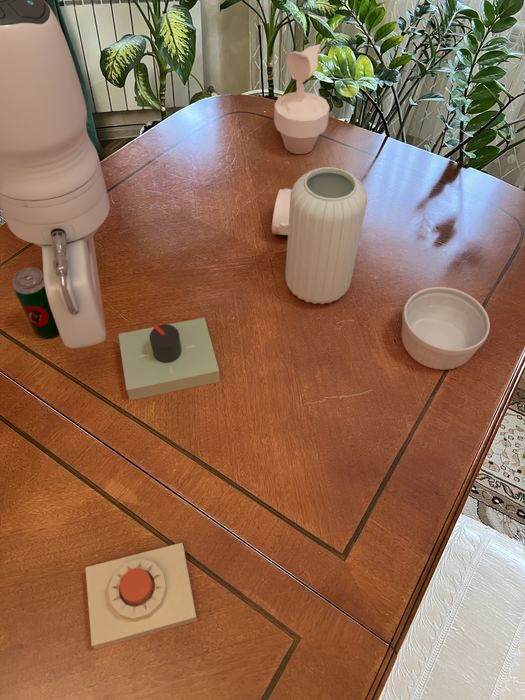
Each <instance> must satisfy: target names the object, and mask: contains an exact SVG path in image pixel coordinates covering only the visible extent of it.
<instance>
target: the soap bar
mask: <svg viewBox="0 0 525 700" xmlns="http://www.w3.org/2000/svg"><path fill="white" fill-rule="evenodd" d="M291 191H292V189H291V188H286V187H285V188H283V189H282V188H280V189H279V190H278V192H277V196H276V199H275V204H274V208H273V214H272V220H271V221H272V222H271V233H272V235H279V236H288V227H289V212H290V197H291Z"/></svg>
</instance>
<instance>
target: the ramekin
mask: <svg viewBox="0 0 525 700" xmlns="http://www.w3.org/2000/svg"><path fill="white" fill-rule="evenodd" d="M401 319H402V324H401V342H402V345H403V347H404V348H405V351H406V352H407V354H408V355H409V356H410V357H411V358H412V359H413V360H414V361H416V362H417V363H418V364H420V365H422V366H424V367H427V368H429V369H434V370H439V371H440V370H442V371H443V370H446V371H447V370H452V369H456V368H459V367H462V366H464V364H466V363H467V362H468V361H469V360H470V359H472V357H473V355H474V354H475V353H476V352H477V351H478V349H480V348H481V347H482V346H483V345H484V344H485V342H486V340H487V338H488V336H489V334H490V328H491V323H490V318H489V315H488V313H487V311H486V309H485V308H484V307H483V305H482V304H481V303H480V302H479V301H478V300H477V299H476V298H474V297H473V296H472V295H470V294H468V293H466V292H464V291H462V290H460V289H456V288H452V287H446V286H432V287H431V286H430V287H427V288H423V289H419V290H418V291H416V292H415V293H413V294H412V295H411V296H409V298H408V299H407V300H406V302H405V304H404V306H403V309H402V314H401Z"/></svg>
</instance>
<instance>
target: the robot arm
mask: <svg viewBox="0 0 525 700" xmlns="http://www.w3.org/2000/svg"><path fill="white" fill-rule="evenodd" d="M51 8H52V7H50V5H49V4H48V2H47V1H46V0H0V211H1V214H2V215H3V218H4V220H5V222H6V225H7V227H8V229H9V230H10V231H11V233H12V234H13V235H14V236H16V237H17V238H19V239H20V240H23V241H24V242H26V243H31V244H34V245H36V246H38V247H40V248H41V256H42V257H41V259H42V273H43V277H44V285H45V290H46V294H47V298H48V302H49V305H50V308H51V311H52V314H53V317H54V319H55V322H56V325H57V328H58V330H59V336H60V338H61V340H62V343H63V345H64V346H65V347H66V348H68V349H81V348H87V347H91V346H95V345H99V344H101V343H102V344H103V342H105V341H106V339H107V328H106V320H105V313H104V307H103V300H102V299H103V298H102V292H101V290H102V289H101V283H100V277H99V268H98V260H97V253H96V247H95V238H94V236H95V234H96V233H97V232H98V230H99V228H100V227H101V226H102V225H103V224H104V222H105V221H106V219H107V217H108V216H109V213H110V208H111V205H110V204H111V203H110V198H109V195H108V190H107V186H106V181H105V179H104V174H103V170H102V166H101V162H100V157H99V154H98V151H97V149H96V147H95V144H94V143H93V141H92V140H91V138H90V136H89V133H88V130H87V121H88V111H87V109H88V108H87V105H86V101H85V98H84V97H85V96H84V93H83V90H82V85H81V82H80V78H79V75H78V72H77V68H76V65H75V62H74V59H73V57H72V53H71V50H70V48H69V45H68V42H67V39H66V36H65V34H64V32H63V29H62V27H61V25H60V22H59V20H58V18H57V16H56V15H55V13H54V11H53V9H51Z"/></svg>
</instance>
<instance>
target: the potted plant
mask: <svg viewBox="0 0 525 700" xmlns="http://www.w3.org/2000/svg"><path fill="white" fill-rule="evenodd" d="M321 50H322V42H319V43H318V44H315V45H312V46H308V47H307V48H305V49H304V50H302V51H301V52H300V51H297V50H294V51H292V52H290V53H288V54H287V57H286V62H285V63H286V65H287V67H288V70H289V74H290V76H291V78H292V79H293V80H295V81H296V82H295V83H296V91H293V92H287V93H286V94H284V95H281V96H279V97H278V98H277V100H276V101H275V103H274V105H273V108H274V109H273V123H274V125H275V128H276V130H277V131H278V132H280V136H281V139H282V142H283V145H284V148H285V150H286V151H288V152H289V153H291V154H295V155H305V154H308V153H310V152H312V151H313V149H314V147H315V145H316V143H317V141H318V138H319V136H320V135H321V134H323V133H325V132H326V129H327V128H328V125H329V118H330V105H329V103H328V101H327V99H326V98H324V97H322V96H321V95H319V94H317V93H313V92H307V91H305V84H304V83H305V82H306V81H307V80H308V79H310V78H311V77H312V76H313V75H314V74H315V72H316V71H317V70H318V61H319V58H320V57H321V56H320V55H321ZM324 67H326V64H325V66H324V64H322V67H321V69H324Z"/></svg>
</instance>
